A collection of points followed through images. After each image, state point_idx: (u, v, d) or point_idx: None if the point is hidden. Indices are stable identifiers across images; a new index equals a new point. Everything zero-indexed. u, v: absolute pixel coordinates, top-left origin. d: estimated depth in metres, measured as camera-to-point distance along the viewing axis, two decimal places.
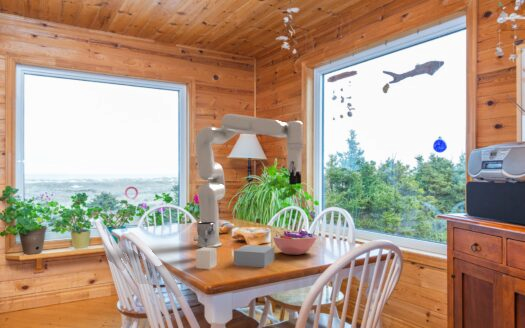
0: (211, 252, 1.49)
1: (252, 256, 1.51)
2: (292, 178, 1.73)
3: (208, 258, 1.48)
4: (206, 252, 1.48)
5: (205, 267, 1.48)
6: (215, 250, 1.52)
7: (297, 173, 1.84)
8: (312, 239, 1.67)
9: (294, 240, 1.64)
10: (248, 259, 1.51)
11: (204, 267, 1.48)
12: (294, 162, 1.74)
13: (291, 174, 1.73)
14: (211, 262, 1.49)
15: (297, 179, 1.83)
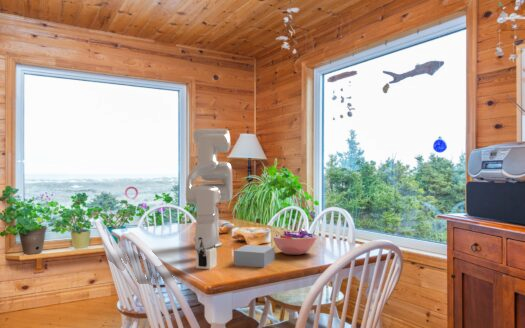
0: (211, 252, 1.49)
1: (252, 256, 1.51)
2: (201, 259, 1.47)
3: (208, 258, 1.48)
4: (206, 252, 1.48)
5: (205, 267, 1.48)
6: (215, 250, 1.52)
7: None
8: (312, 239, 1.67)
9: (294, 240, 1.64)
10: (248, 259, 1.51)
11: (204, 267, 1.48)
12: (202, 238, 1.46)
13: (200, 255, 1.47)
14: (211, 262, 1.49)
15: None
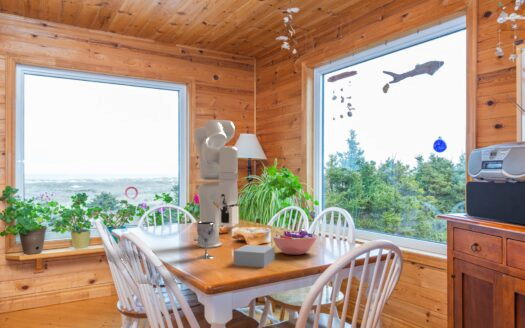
0: (233, 209, 1.52)
1: (252, 256, 1.51)
2: (224, 216, 1.50)
3: (230, 215, 1.51)
4: (228, 209, 1.51)
5: (227, 223, 1.51)
6: (237, 208, 1.55)
7: None
8: (312, 239, 1.67)
9: (294, 240, 1.64)
10: (248, 259, 1.52)
11: (227, 224, 1.51)
12: (225, 195, 1.49)
13: (223, 211, 1.50)
14: (233, 219, 1.52)
15: None
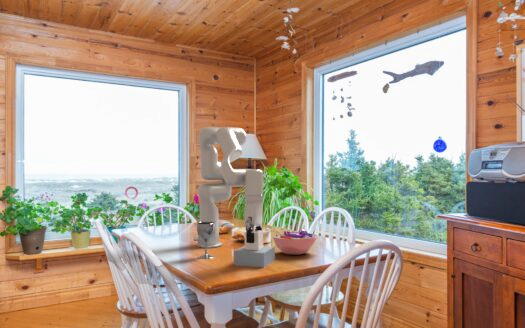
0: (259, 234, 1.55)
1: (252, 256, 1.51)
2: (249, 236, 1.52)
3: (257, 239, 1.54)
4: (254, 234, 1.55)
5: (254, 248, 1.55)
6: (262, 232, 1.59)
7: (258, 227, 1.62)
8: (312, 239, 1.67)
9: (294, 240, 1.64)
10: (247, 260, 1.52)
11: (253, 248, 1.55)
12: (252, 217, 1.53)
13: (248, 231, 1.52)
14: (259, 243, 1.55)
15: None
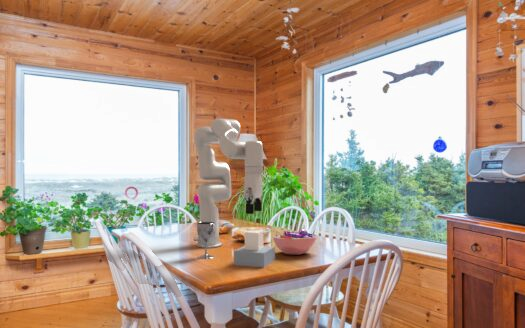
0: (259, 234, 1.55)
1: (252, 256, 1.51)
2: (249, 207, 1.52)
3: (257, 240, 1.54)
4: (254, 234, 1.54)
5: (254, 248, 1.54)
6: (262, 233, 1.59)
7: (257, 199, 1.63)
8: (312, 239, 1.67)
9: (294, 240, 1.64)
10: (248, 260, 1.52)
11: (253, 248, 1.55)
12: (251, 188, 1.53)
13: (248, 202, 1.52)
14: (259, 244, 1.55)
15: (257, 206, 1.62)
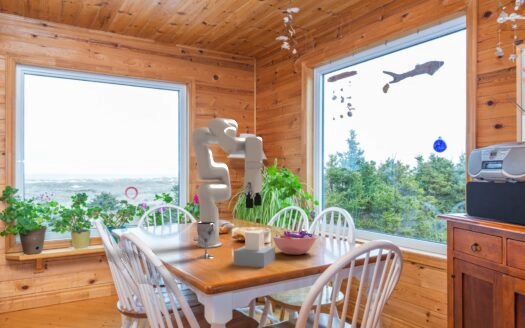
0: (260, 234, 1.55)
1: (252, 256, 1.51)
2: (249, 201, 1.56)
3: (257, 240, 1.54)
4: (255, 234, 1.54)
5: (254, 249, 1.54)
6: (263, 233, 1.58)
7: (257, 194, 1.66)
8: (312, 239, 1.67)
9: (294, 240, 1.64)
10: (248, 260, 1.52)
11: (253, 249, 1.54)
12: (251, 183, 1.56)
13: (247, 197, 1.55)
14: (260, 244, 1.55)
15: (257, 201, 1.65)
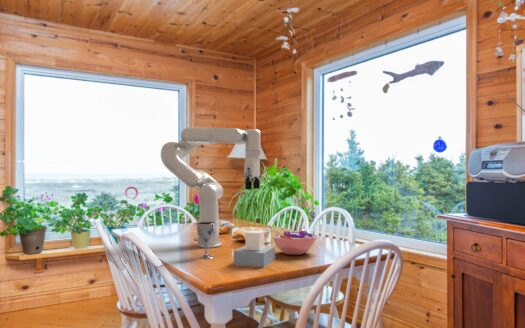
0: (260, 234, 1.55)
1: (252, 256, 1.51)
2: (248, 183, 1.84)
3: (258, 240, 1.54)
4: (255, 234, 1.54)
5: (255, 249, 1.54)
6: (263, 233, 1.58)
7: (256, 178, 1.94)
8: (312, 239, 1.67)
9: (294, 240, 1.64)
10: (248, 260, 1.52)
11: (254, 249, 1.54)
12: (250, 168, 1.84)
13: (247, 180, 1.83)
14: (260, 244, 1.55)
15: (256, 184, 1.93)
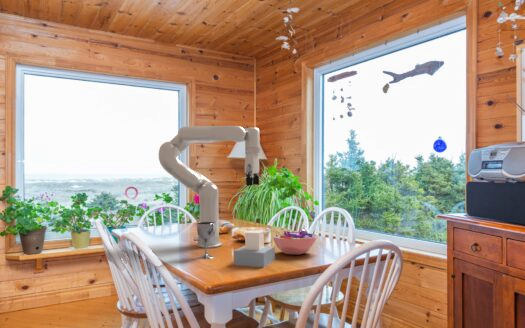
0: (260, 234, 1.55)
1: (252, 256, 1.51)
2: (249, 179, 1.91)
3: (257, 240, 1.54)
4: (255, 234, 1.54)
5: (254, 248, 1.54)
6: (263, 233, 1.59)
7: (255, 175, 2.01)
8: (312, 239, 1.67)
9: (294, 240, 1.64)
10: (247, 260, 1.52)
11: (253, 248, 1.54)
12: (250, 165, 1.92)
13: (248, 176, 1.91)
14: (260, 244, 1.55)
15: (255, 180, 2.01)
